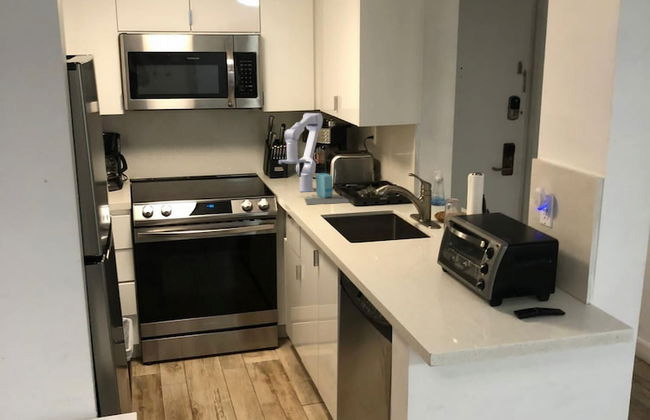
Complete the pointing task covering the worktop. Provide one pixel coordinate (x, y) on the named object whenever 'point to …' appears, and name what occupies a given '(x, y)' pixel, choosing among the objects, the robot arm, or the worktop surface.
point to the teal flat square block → (324, 185)
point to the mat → (326, 200)
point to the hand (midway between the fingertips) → (292, 176)
